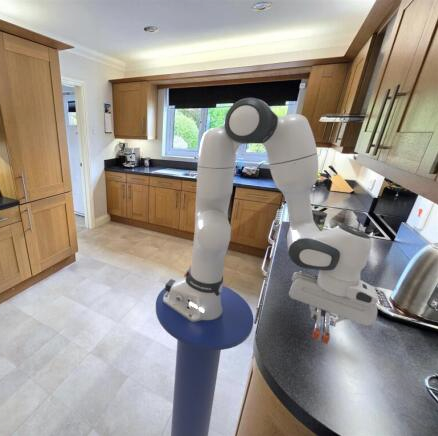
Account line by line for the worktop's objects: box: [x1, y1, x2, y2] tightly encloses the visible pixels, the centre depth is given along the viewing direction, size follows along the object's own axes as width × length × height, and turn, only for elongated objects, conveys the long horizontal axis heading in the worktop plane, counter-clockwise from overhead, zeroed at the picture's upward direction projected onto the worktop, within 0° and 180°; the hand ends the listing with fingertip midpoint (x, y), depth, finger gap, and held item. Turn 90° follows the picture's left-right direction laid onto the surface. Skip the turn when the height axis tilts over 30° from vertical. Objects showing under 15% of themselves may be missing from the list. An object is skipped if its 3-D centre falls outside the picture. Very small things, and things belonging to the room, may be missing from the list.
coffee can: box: [312, 209, 328, 231], centre depth 153 cm, size 10×10×14 cm
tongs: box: [311, 307, 331, 345], centre depth 73 cm, size 16×4×3 cm, turn 144°
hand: (322, 320), depth 73 cm, fingers closed on tongs, 3 cm apart
